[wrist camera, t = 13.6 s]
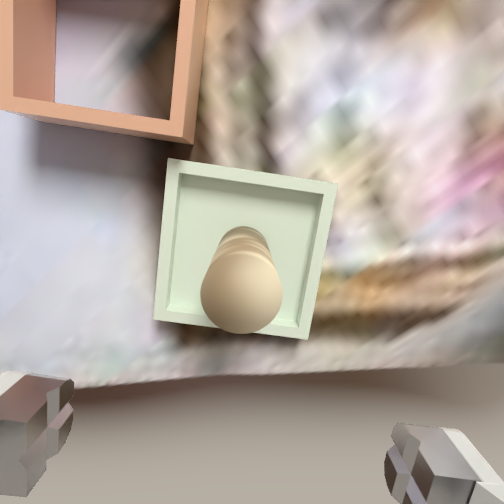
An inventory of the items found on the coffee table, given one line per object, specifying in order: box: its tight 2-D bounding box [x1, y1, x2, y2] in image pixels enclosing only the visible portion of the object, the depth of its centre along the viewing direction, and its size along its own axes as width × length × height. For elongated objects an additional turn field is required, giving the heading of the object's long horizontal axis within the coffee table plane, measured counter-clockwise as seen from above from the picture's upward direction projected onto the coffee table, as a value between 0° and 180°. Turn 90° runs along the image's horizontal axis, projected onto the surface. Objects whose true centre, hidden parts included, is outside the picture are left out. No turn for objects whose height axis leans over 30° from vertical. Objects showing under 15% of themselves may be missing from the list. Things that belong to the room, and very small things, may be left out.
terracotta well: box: [0, 0, 209, 145], centre depth 25 cm, size 13×13×5 cm
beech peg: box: [200, 226, 283, 334], centre depth 24 cm, size 4×4×12 cm
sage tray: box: [153, 158, 338, 340], centre depth 30 cm, size 14×14×2 cm
